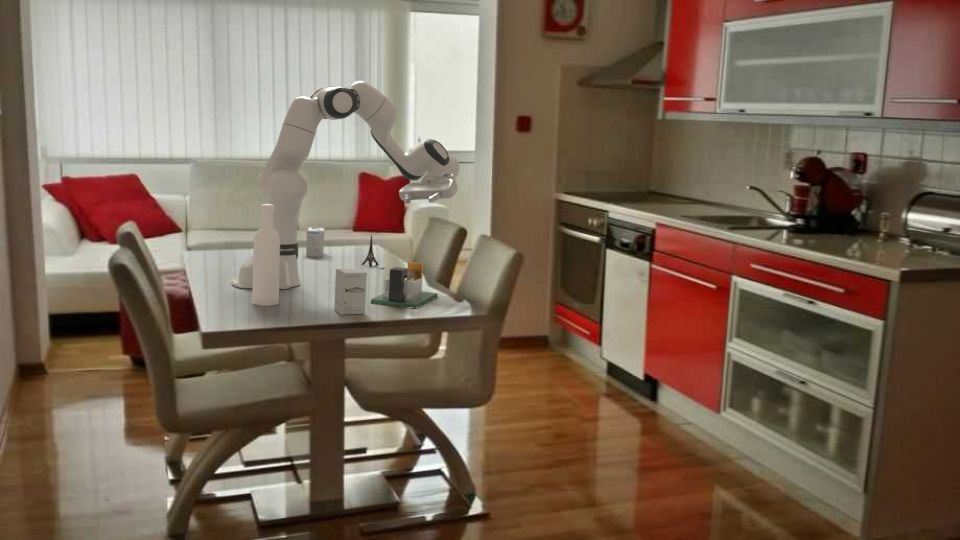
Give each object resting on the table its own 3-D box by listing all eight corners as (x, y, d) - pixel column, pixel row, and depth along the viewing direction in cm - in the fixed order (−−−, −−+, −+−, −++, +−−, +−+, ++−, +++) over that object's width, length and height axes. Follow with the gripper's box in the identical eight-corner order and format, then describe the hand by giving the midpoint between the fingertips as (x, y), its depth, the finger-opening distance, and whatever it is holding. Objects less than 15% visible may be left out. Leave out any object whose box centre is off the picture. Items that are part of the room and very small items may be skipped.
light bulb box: (307, 252, 363) (308, 226, 361) (324, 253, 363) (324, 227, 362) (305, 256, 352) (306, 230, 350) (322, 257, 353) (323, 230, 351)
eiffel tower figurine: (384, 270, 334) (386, 236, 331) (358, 269, 332) (359, 235, 330) (384, 264, 348) (385, 231, 346) (358, 263, 347) (360, 230, 345)
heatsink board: (395, 291, 290) (396, 259, 289) (437, 296, 286) (439, 263, 285) (370, 302, 270) (372, 267, 269) (415, 308, 267) (417, 272, 265)
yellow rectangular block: (407, 285, 287) (408, 261, 286) (421, 287, 286) (423, 263, 284) (395, 291, 276) (396, 266, 275) (410, 292, 275) (411, 268, 274)
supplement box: (341, 315, 251) (343, 272, 249) (333, 310, 257) (335, 268, 255) (365, 314, 254) (367, 272, 252) (357, 309, 261) (358, 268, 259)
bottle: (254, 306, 255) (256, 205, 250) (249, 301, 262) (251, 202, 257) (281, 305, 258) (283, 206, 253) (276, 300, 265) (278, 203, 260)
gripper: (406, 177, 307) (389, 194, 296) (457, 174, 299) (442, 191, 288) (411, 193, 310) (394, 210, 299) (462, 190, 302) (446, 208, 291)
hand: (418, 201), depth 294 cm, fingers open, 8 cm apart
